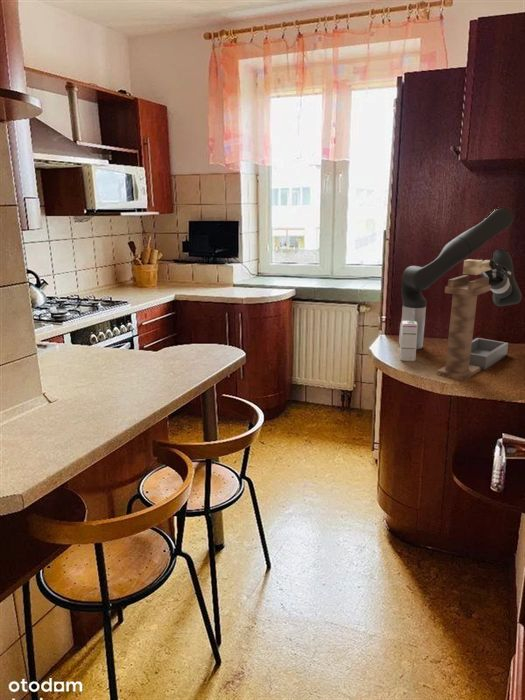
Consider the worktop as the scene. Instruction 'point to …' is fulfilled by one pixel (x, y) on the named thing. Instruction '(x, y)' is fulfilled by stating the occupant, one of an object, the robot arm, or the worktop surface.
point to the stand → (462, 325)
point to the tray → (487, 352)
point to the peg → (475, 266)
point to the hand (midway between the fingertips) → (485, 261)
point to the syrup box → (408, 340)
